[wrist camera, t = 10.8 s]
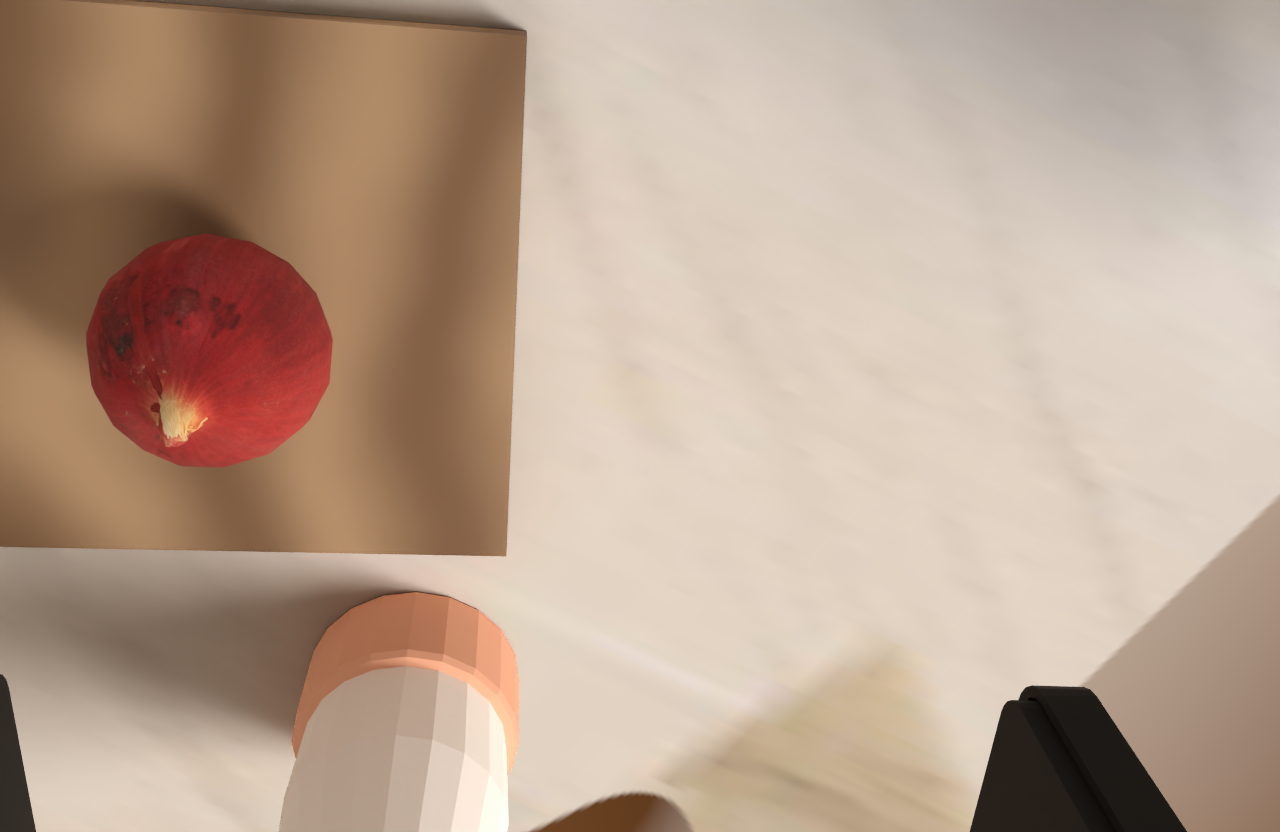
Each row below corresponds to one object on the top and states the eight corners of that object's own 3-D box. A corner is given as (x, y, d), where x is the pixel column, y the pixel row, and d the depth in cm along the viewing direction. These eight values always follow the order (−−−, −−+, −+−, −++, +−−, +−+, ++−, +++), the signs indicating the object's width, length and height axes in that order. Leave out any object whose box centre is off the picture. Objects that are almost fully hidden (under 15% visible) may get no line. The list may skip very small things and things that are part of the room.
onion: (93, 290, 31) (-35, 403, 24) (244, 161, 30) (158, 239, 23) (246, 435, 34) (171, 578, 26) (391, 320, 33) (355, 436, 25)
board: (526, 30, 31) (526, 36, 30) (506, 532, 37) (506, 556, 36) (-193, -25, 29) (-228, -22, 27) (-83, 520, 35) (-108, 544, 34)
